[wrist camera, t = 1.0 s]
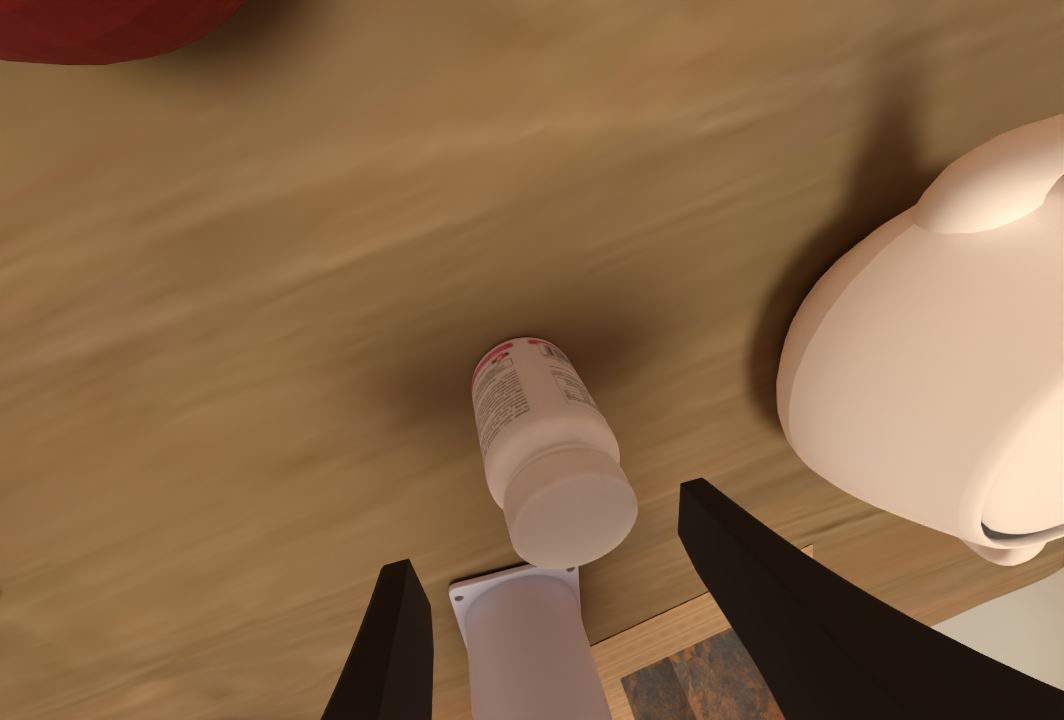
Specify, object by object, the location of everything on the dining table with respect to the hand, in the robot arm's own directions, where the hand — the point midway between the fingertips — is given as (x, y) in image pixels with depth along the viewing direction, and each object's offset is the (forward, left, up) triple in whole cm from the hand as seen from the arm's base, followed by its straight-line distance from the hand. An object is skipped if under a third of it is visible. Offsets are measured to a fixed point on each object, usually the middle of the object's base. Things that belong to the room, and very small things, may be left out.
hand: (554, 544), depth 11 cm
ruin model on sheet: (-32, -12, -10) cm, 35 cm away
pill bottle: (-1, -1, -10) cm, 10 cm away
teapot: (-1, -20, -10) cm, 22 cm away
